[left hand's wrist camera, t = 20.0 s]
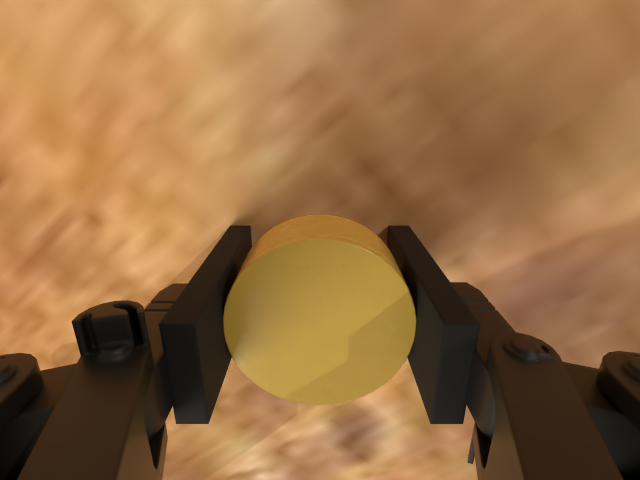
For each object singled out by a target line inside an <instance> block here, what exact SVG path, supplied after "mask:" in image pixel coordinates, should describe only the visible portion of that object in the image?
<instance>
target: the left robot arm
mask: <svg viewBox="0 0 640 480" xmlns="http://www.w3.org/2000/svg"><path fill="white" fill-rule="evenodd" d="M387 247H388V249H389V250H390V252H391V253H392V255H393V257H394V259H395V261H396V263H397V265H398V268H399V270H400V272H401V274H402V276H403V278H404V280H405V282H406V285H407V287H408V289H409V291H410V293H411V296H412V298H413V302H414V305H415V310H416V331H415V338H414V342H413V345H412V348H411V351H410V353H409V355H408V360H409V363H410V366H411V369H412V372H413V374H414V377H415V380H416V383H417V386H418V389H419V392H420V395H421V397H422V400H423V403H424V406H425V409H426V412H427V415H428V418H429V420H430V423H431V424H463V421H464V415H465V410H466V404H467V406H468V408H469V410H470V412H471V414H472V416H473V418H474V420H475V424H474V429H473V435H472V440H471V445H470V450H469V456H468V463H471V464H473V460H474V456H475V461H476V468H477V476H478V480H640V354H638V353H631V352H623V351H616V352H609V353H607V354H606V355H605V356H603V359H602V362H601V365H600V368H599V369H596V368H591V367H586V366H581V365H576V364H570V363H566V362H562V360H561V358H560V356H559V355H558V354H557V352H556V351H555V350H554V349H553V348H552V347H551V346H549V345H548V344H546V343H545V342H543V341H542V340H539V339H537V338H534V337H532V336H530V335H525V334H521V333H516V332H515V331H514V330H513V328H512V327H511V326H510V325H509V324H508V323H507V321H506V320H505V319H504V318H503V317H502V316H501V314H500V313H499V312H498V311H497V310H495V307H494V306H493V305H492V304H491V303H490V302H488V299H487V298H486V297H485V296H484V295H483V293H482V292H481V291H480V290H478V289H477V288H475V287H473V286H471V285H470V284H468V283H466V282H450V281H449V280H448V279H447V277H446V276H445V275H444V273H443V272H442V271H441V269H440V268H439V266H438V265H437V264H436V262H435V261H434V260H433V258H432V257H431V255H430V254H429V253H428V251H427V250H426V249H425V247H424V246H423V244H422V243H421V242H420V240H419V239H418V238H417V236H416V235H415V233H414V232H413V231H412V229H411V228H410V227H409V226H389V229H388V243H387ZM251 248H252V242H251V228H250V226H230V227H229V228H228V229H227V231H226V232H225V234H224V235H223V236H222V238H221V239H220V240H219V242H218V243H217V245H216V246H215V247H214V249H213V250H212V251H211V253H210V254H209V255H208V257H207V258H206V260H205V261H204V262H203V264H202V265H201V266H200V268H199V269H198V271H197V272H196V273H195V275H194V276H193V277H192V279H191V280H190V282H189V283H188V284H172V285H170V286H168V287H167V288H165V289H163V290H162V291H160V292H159V293H158V294H157V295H156V296H155V297H154V299H153V300H152V301H151V303H149V304H148V306H147V307H146V308H145V309H144V308H143V306H142V305H141V304H139V303H138V302H133V301H113V302H108V303H103V304H100V305H97V306H95V307H92V308H89V309H87V310H86V311H84V312H82V313H80V314H79V315H78V316H77V317H76V318H75V319H74V320H73V321H72V324H73V328H74V332H75V336H76V339H77V343H78V347H79V350H80V354H81V357H80V359H79V361H78V363H76V364H72V365H68V366H63V367H57V368H52V369H47V370H42V371H40V368H39V365H38V362H37V359H36V358H35V357H34V356H32V355H31V354H24V353H16V354H6V355H1V356H0V480H162V477H163V469H164V462H165V454H166V447H167V439H168V437H167V429H166V424H165V421H166V419H167V417H168V415H169V412H170V410H171V408H172V406H173V409H174V414H175V420H176V424H209V421H210V418H211V415H212V412H213V409H214V407H215V404H216V401H217V398H218V395H219V392H220V389H221V386H222V384H223V381H224V378H225V375H226V372H227V369H228V366H229V363H230V360H231V358H232V356H231V354H230V352H229V349H228V346H227V343H226V341H225V336H224V328H223V314H224V306H225V303H226V299H227V296H228V294H229V292H230V290H231V287H232V285H233V283H234V281H235V279H236V277H237V275H238V273H239V271H240V269H241V267H242V265H243V263H244V260H245V258H246V256H247V254H248V253H249V251H250V250H251Z"/></svg>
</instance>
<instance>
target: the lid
mask: <svg viewBox="0 0 640 480" xmlns="http://www.w3.org/2000/svg"><path fill="white" fill-rule="evenodd" d="M223 328H224V336H225V341H226V343H227V346H228V349H229V352H230V354H231V356H232V358H233V360H234V361H235V363H236V364H237V365H238V367H239V368H240V370H241V371H242V372H243V373H244V374H245V375H246V376H247V377H248V378H249V379H250V380H251V381H253V382H254V383H255V384H256V385H258V386H259V387H261V388H262V389H264V390H265V391H267V392H269V393H271V394H273V395H275V396H277V397H280V398H283V399H285V400H289V401H292V402H296V403H302V404H309V405H331V404H338V403H344V402H347V401H351V400H355V399H357V398H360V397H363V396H365V395H367V394H369V393H371V392H373V391H375V390H376V389H378V388H379V387H381V386H382V385H384V384H385V383H386V382H387V381H388V380H389V379H391V378H392V377H393V376H394V375H395V374H396V372H397V371H398V370H399V369H400V368H401V366H402V365H403V363H404V362H405V361H406V359H407V357H408V355H409V353H410V351H411V348H412V345H413V342H414V338H415V331H416V310H415V305H414V302H413V298H412V296H411V293H410V291H409V289H408V287H407V285H406V282H405V280H404V278H403V276H402V274H401V272H400V270H399V268H398V265H397V263H396V261H395V259H394V257H393V255H392V253H391V252H390V250H389V249H388V247H387V246H386V244H385V243H384V242H383V241H382V240H381V239H380V238H379V237H378V236H377V235H376V234H375V233H373V232H372V231H371V230H369V229H368V228H366V227H365V226H363V225H361V224H359V223H357V222H355V221H353V220H350V219H347V218H344V217H339V216H334V215H324V214H315V215H305V216H300V217H296V218H293V219H290V220H287V221H285V222H283V223H281V224H278V225H276V226H275V227H273V228H272V229H270V230H269V231H267V232H266V233H265V234H264V235H263V236H262V237H260V238H259V240H258V241H257V242H256V243H255V244H254V245H253V247H252V248H251V250H250V251H249V253H248V254H247V256H246V258H245V260H244V263H243V265H242V267H241V269H240V271H239V273H238V275H237V277H236V279H235V281H234V283H233V285H232V287H231V290H230V292H229V294H228V296H227V299H226V303H225V306H224V314H223Z"/></svg>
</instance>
